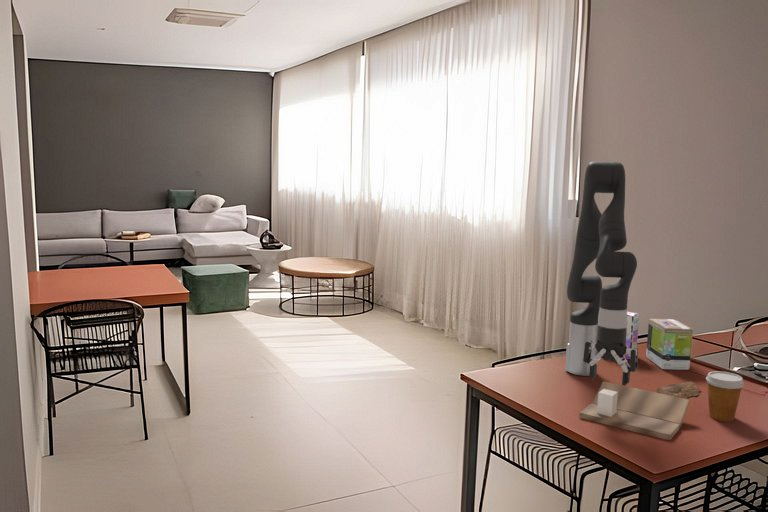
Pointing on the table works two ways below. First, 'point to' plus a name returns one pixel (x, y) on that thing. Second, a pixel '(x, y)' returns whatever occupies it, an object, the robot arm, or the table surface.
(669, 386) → the flat brown piece
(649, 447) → the table surface
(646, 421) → the floor board
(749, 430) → the table surface
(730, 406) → the disposable coffee cup
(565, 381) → the table surface
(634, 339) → the candy box
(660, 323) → the tea box
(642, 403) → the board
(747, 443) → the table surface
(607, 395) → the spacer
